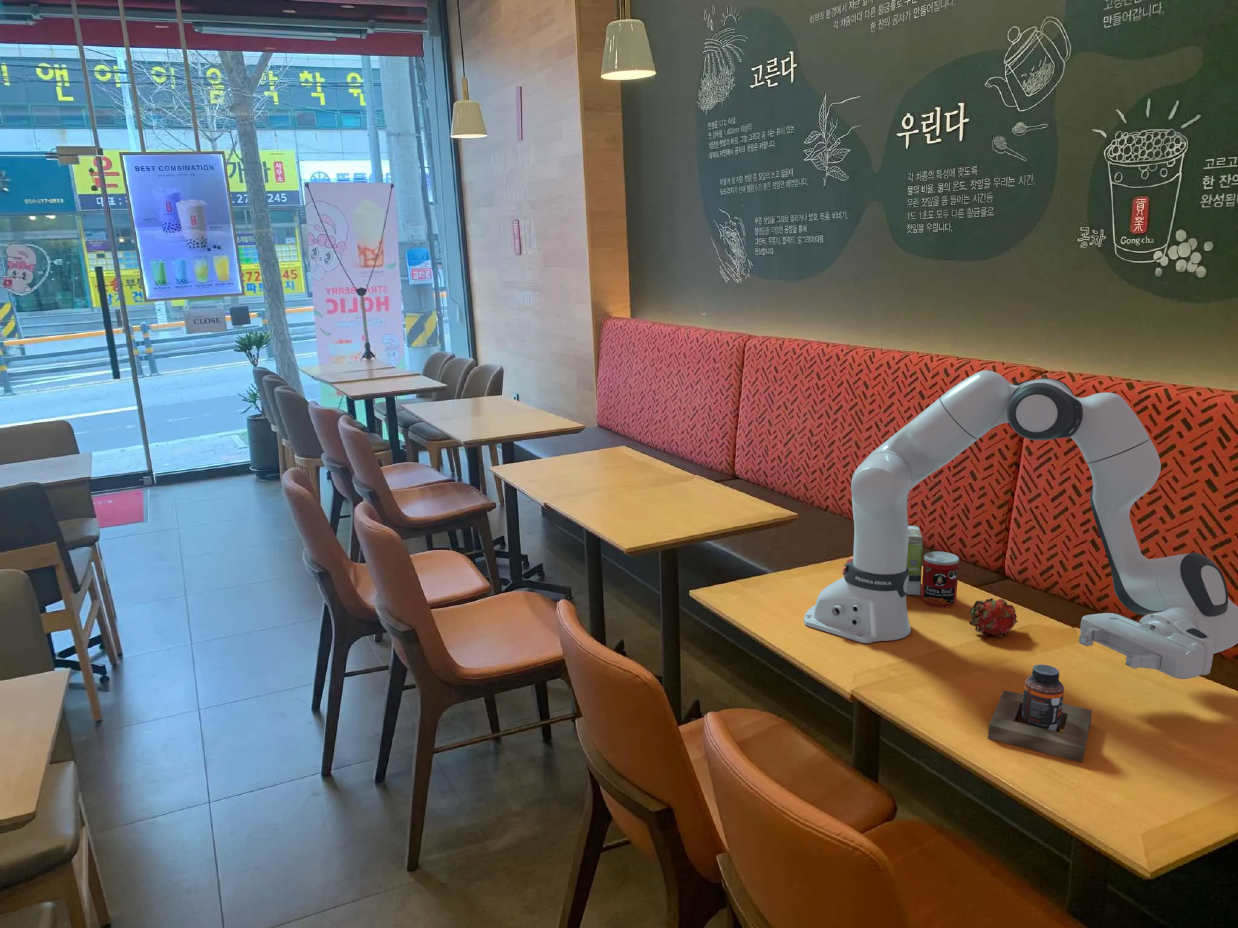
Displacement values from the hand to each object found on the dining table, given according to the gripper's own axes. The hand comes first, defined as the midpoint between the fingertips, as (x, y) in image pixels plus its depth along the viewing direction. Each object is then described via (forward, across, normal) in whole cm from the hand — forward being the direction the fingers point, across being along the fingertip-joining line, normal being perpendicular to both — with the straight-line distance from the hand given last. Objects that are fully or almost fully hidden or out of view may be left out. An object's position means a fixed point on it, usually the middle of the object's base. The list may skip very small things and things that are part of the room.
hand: (1105, 651), depth 148 cm
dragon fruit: (-9, -35, +12) cm, 38 cm away
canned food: (-10, -53, +12) cm, 55 cm away
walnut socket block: (+13, 0, +12) cm, 18 cm away
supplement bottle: (+13, 0, +13) cm, 18 cm away
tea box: (-4, -65, +12) cm, 67 cm away
